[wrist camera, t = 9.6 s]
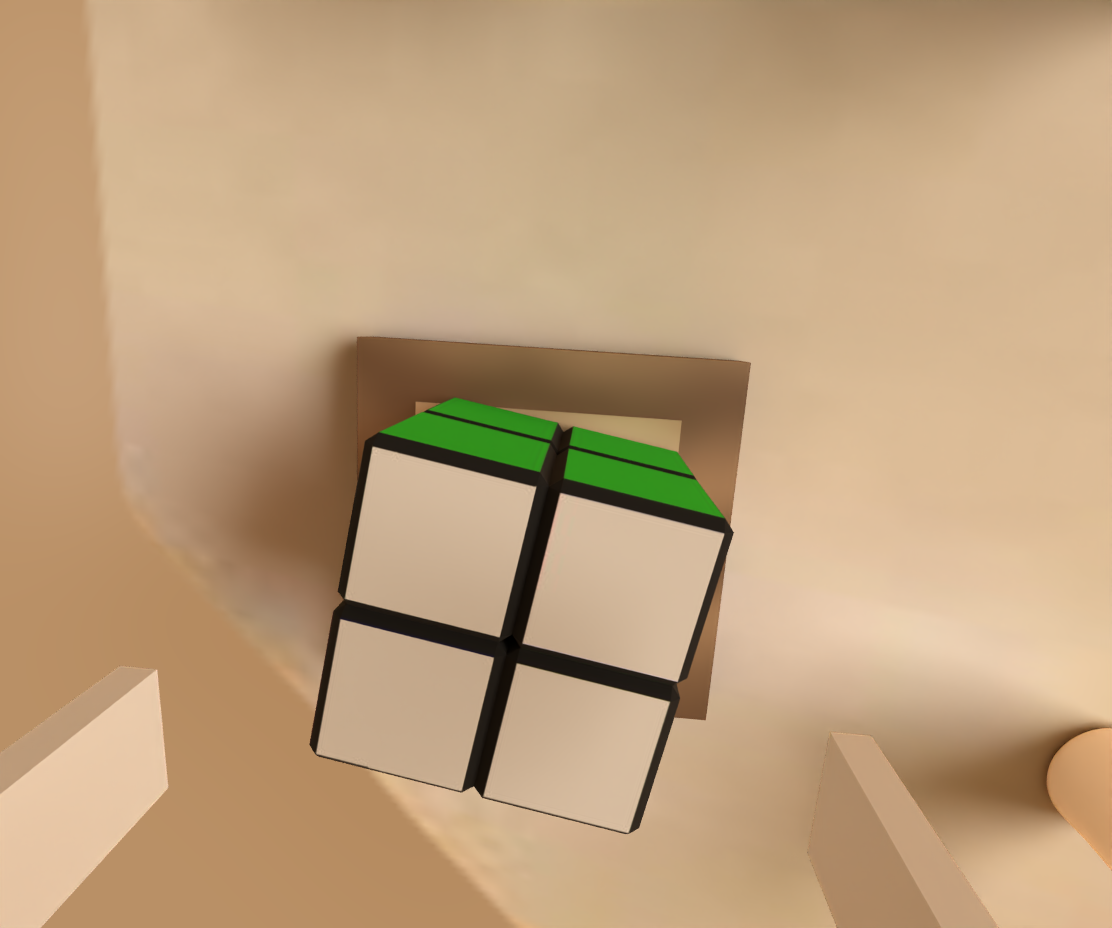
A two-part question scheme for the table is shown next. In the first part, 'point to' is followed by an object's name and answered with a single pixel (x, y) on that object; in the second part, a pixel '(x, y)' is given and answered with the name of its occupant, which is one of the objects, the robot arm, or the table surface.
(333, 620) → the puzzle cube
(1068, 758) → the drinking glass
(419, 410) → the walnut board
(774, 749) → the table surface
